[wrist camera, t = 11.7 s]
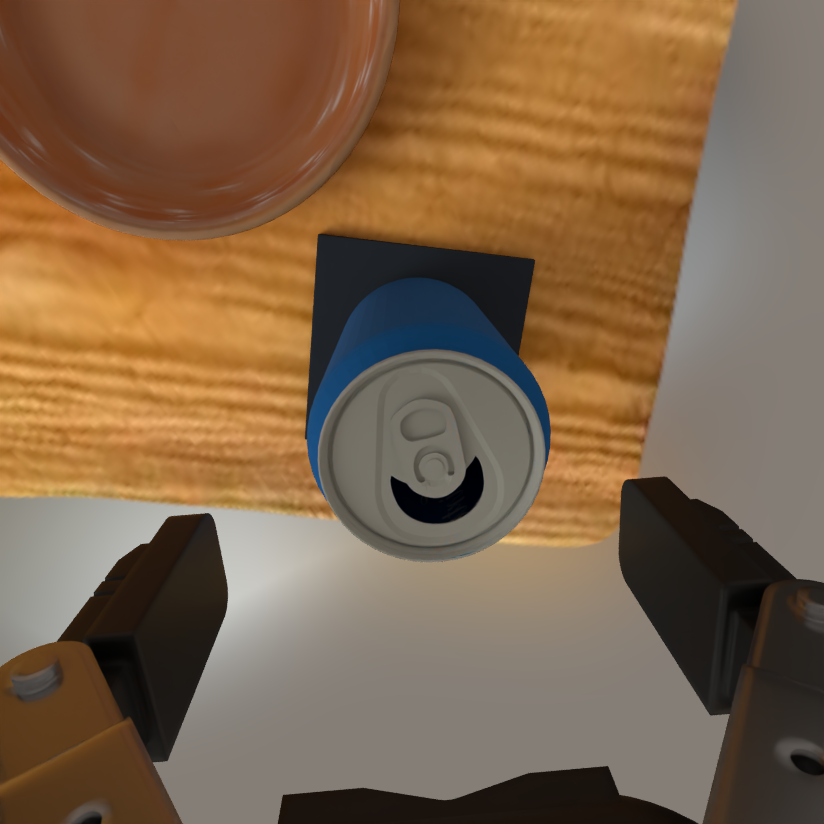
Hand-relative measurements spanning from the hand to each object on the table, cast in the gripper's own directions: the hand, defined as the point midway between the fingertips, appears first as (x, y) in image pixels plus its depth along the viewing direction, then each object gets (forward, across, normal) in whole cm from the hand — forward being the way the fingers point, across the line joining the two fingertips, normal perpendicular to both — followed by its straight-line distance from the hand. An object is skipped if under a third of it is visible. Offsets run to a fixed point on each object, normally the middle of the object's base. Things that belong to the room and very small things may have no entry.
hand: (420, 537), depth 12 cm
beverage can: (+15, -1, 0) cm, 15 cm away
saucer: (+16, +7, -14) cm, 22 cm away
